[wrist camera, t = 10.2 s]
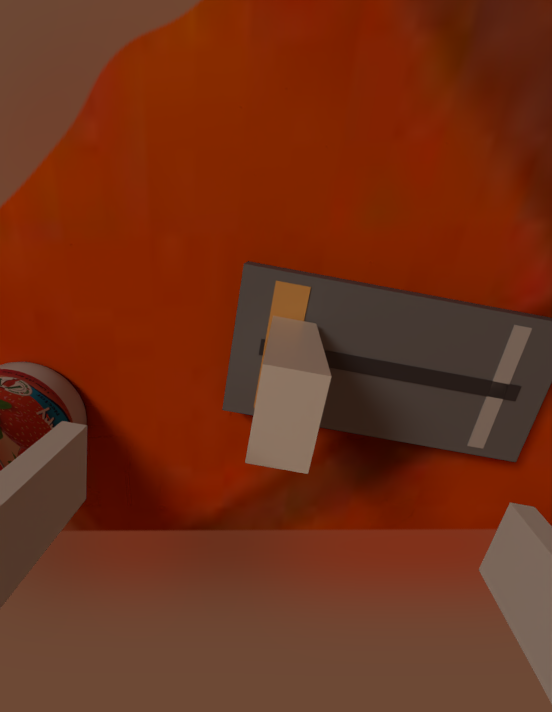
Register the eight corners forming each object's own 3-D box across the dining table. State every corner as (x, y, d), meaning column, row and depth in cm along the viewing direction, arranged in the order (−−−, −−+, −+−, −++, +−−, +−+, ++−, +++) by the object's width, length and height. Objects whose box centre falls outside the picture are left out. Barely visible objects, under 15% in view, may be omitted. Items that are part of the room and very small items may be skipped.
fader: (316, 323, 25) (331, 376, 16) (301, 389, 27) (307, 473, 18) (273, 315, 25) (262, 363, 16) (261, 382, 27) (245, 462, 17)
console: (552, 318, 28) (577, 326, 25) (498, 444, 31) (516, 463, 29) (248, 261, 27) (243, 263, 25) (227, 396, 31) (222, 410, 28)
